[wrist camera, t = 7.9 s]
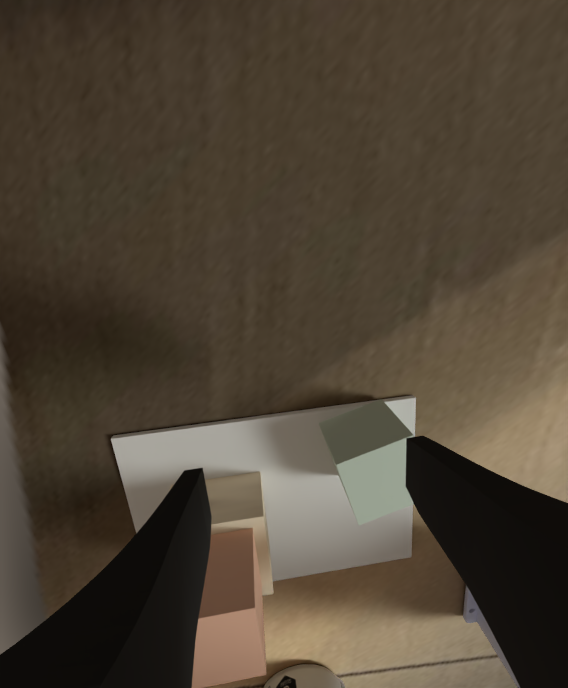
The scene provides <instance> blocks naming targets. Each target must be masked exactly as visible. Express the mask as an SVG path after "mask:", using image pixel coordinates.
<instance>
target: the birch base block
mask: <svg viewBox="0 0 568 688" xmlns="http://www.w3.org/2000/svg"><path fill="white" fill-rule="evenodd" d="M205 483H206V488H207V494H208V499H209V504H210V510H211V515H212V522H211V535H214V534H220V533H226V532H232V531H238V530H243V529H249V528H253V534H254V540H255V546H256V552H257V558H258V565H259V571H260V577H261V583H262V596H265V595H270V594H274V591H273V580H272V568H271V556H270V544H269V535H268V527H267V519H266V512H265V504H264V496H263V488H262V480H261V473H260V472H254V473H247V474H240V475H234V476H227V477H220V478H213V479H207V480H205ZM173 485H174V484H173ZM173 485H171V487H170V490H171V488H172V487H173ZM170 490H169V491H170Z"/></svg>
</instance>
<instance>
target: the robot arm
mask: <svg viewBox="0 0 568 688" xmlns="http://www.w3.org/2000/svg"><path fill="white" fill-rule="evenodd" d="M406 488H407V490H408V492H409V494H410V496H411V499H412V501H413V503H414V504H415V506H416V508H417V510H418V512H419V514H420V515H421V517H422V519H423V520H424V522H425V523H426V525H427V526H428V528H429V529H430V531H431V532H432V534H433V535H434V537H435V538H436V540H437V541H438V543H439V544H440V546H441V547H442V549H443V550H444V552H445V553H446V555H447V556H448V558H449V559H450V561H451V562H452V564H453V565H454V567H455V568H456V570H457V571H458V573H459V574H460V576H461V578H462V579H463V581H464V582H465V584H466V590H465V601H464V612H463V618H464V619H465V621H466V622H467V623H473V622H477V623H478V624H479V626H480V627H481V629H482V631H483V632H484V634H485V636H486V637H487V639H488V640H489V642H490V644H491V645H492V647H493V648H494V650H495V652H496V653H497V655H498V657H499V658H500V660H501V661H502V663H503V665H504V666H505V668H506V670H507V671H508V673H509V674H510V676H511V678H512V679H513V681H514V683H515V684H516V686H517V687H518V688H568V503H566V502H563V501H560V500H558V499H555V498H552V497H550V496H547V495H544V494H542V493H539V492H537V491H534V490H532V489H529V488H527V487H525V486H522V485H520V484H518V483H515V482H513V481H511V480H509V479H507V478H505V477H502V476H500V475H498V474H496V473H494V472H492V471H490V470H488V469H486V468H484V467H482V466H480V465H478V464H476V463H474V462H472V461H470V460H468V459H466V458H465V457H463V456H461V455H459V454H457V453H455V452H453V451H452V450H450V449H448V448H446V447H444V446H442V445H440V444H439V443H437V442H435V441H433V440H431V439H429V438H427V437H424V436H418V437H411V438H406ZM211 522H212V515H211V510H210V504H209V499H208V494H207V488H206V483H205V478H204V472H203V468H197V469H190V470H184V472H183V473H182V474H181V475H180V477H179V478H178V480H177V481H176V482H175V484H174V485H173V487H172V488H171V490H170V491H169V492H168V494H167V495H166V496H165V498H164V499H163V501H162V502H161V503H160V505H159V506H158V507H157V508H156V510H155V511H154V512H153V514H152V515H151V516H150V518H149V519H148V520H147V521H146V523H145V524H144V525H143V526H142V527H141V529H140V530H139V531H138V532H137V533H136V535H135V536H134V537H133V538H132V539H131V541H130V542H129V543H128V544H127V545H126V546H125V547H124V548H123V550H122V551H121V552H120V553H119V554H118V555H117V556H116V557H115V558H114V559H113V560H112V561H111V562H110V563H109V564H108V565H107V566H106V567H105V568H104V569H103V570H102V571H101V572H100V573H99V574H98V575H97V576H96V577H95V578H94V579H93V580H91V581H90V582H89V583H88V584H87V585H86V586H85V587H84V588H83V589H81V590H80V591H79V592H78V593H77V594H76V595H75V596H74V597H73V598H72V599H70V600H69V601H68V602H67V603H66V604H65V605H64V606H62V607H61V608H60V609H59V610H58V611H56V612H55V613H54V614H53V615H52V616H50V617H49V618H48V619H47V620H45V621H44V622H43V623H42V624H40V625H39V626H38V627H37V628H35V629H34V630H33V631H32V632H30V633H29V634H28V635H26V636H25V637H24V638H23V639H21V640H20V641H19V642H17V643H16V644H15V645H13V646H12V647H10V648H9V649H8V650H6V651H5V652H3V653H2V654H1V655H0V688H192V677H193V664H194V652H195V640H196V633H197V625H198V618H199V612H200V606H201V600H202V594H203V588H204V582H205V576H206V570H207V564H208V558H209V552H210V542H211Z"/></svg>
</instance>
